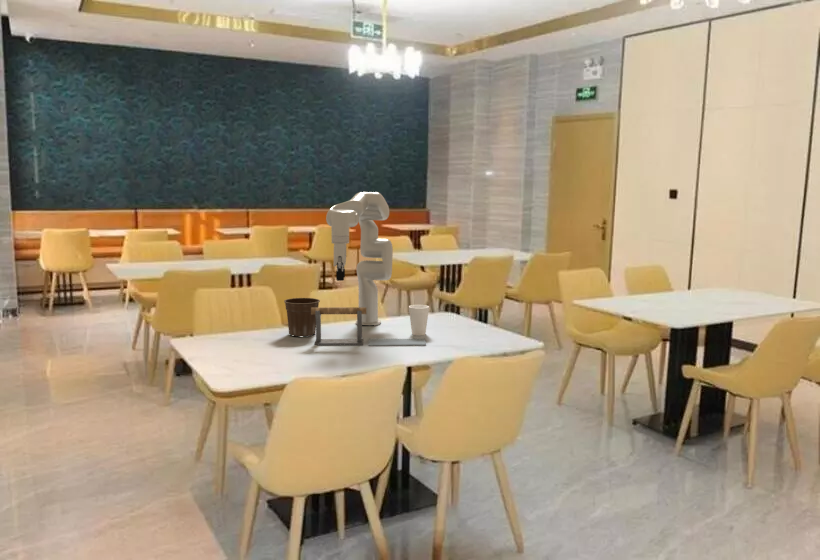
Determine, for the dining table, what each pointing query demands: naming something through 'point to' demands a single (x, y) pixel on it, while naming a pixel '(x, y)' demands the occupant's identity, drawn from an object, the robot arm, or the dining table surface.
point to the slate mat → (397, 342)
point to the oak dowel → (339, 310)
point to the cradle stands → (338, 341)
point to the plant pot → (301, 316)
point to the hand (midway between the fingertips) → (340, 279)
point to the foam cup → (418, 318)
